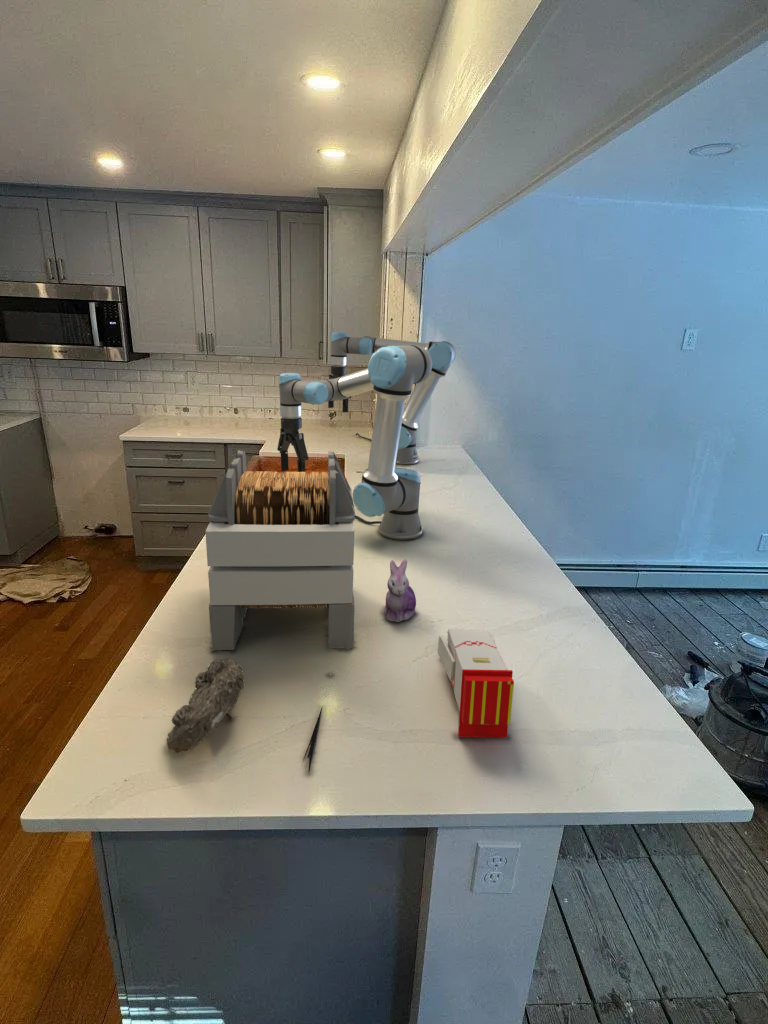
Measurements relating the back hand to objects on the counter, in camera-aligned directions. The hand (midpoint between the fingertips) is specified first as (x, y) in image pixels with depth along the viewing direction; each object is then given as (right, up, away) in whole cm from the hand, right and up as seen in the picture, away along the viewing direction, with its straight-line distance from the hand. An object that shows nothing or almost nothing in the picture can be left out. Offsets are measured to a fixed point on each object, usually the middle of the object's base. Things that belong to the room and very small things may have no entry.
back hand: (337, 410), depth 280 cm
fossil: (-10, -90, -172) cm, 194 cm away
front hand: (-11, -36, -69) cm, 79 cm away
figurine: (+27, -77, -133) cm, 156 cm away
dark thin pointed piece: (+10, -90, -171) cm, 194 cm away
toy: (+41, -88, -161) cm, 188 cm away
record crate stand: (-2, -77, -135) cm, 155 cm away
